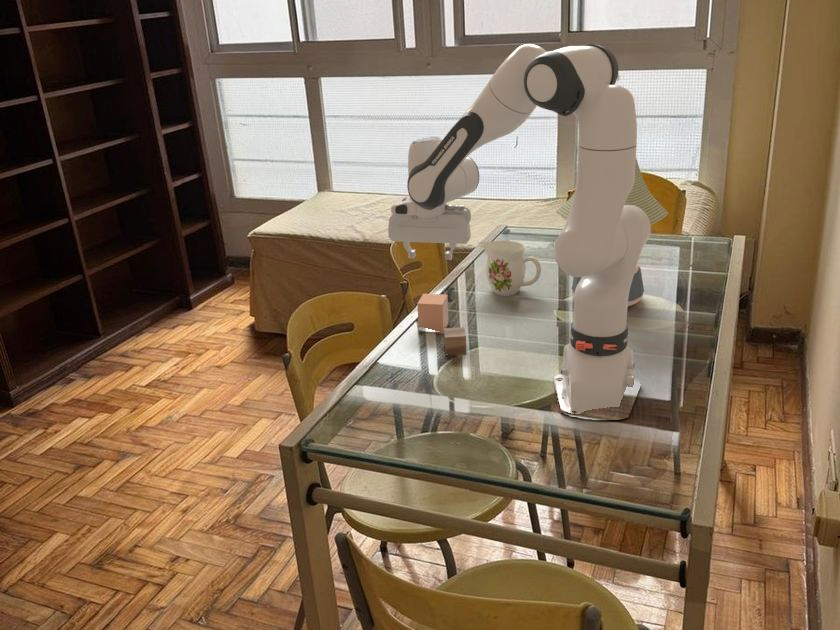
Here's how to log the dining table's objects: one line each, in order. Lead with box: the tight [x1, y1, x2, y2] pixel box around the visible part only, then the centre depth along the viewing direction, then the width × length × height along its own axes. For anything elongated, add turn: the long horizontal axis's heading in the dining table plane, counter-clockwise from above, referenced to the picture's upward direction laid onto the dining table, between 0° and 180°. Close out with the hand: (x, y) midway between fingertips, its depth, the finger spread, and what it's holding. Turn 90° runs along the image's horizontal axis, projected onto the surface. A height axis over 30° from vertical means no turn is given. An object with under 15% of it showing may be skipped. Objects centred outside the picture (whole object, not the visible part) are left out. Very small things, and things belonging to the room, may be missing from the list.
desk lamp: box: [555, 158, 669, 307], centre depth 209 cm, size 26×28×42 cm
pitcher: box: [477, 240, 542, 297], centre depth 224 cm, size 11×18×14 cm, turn 67°
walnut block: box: [443, 326, 467, 356], centre depth 194 cm, size 5×5×5 cm
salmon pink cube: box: [417, 293, 449, 332], centre depth 205 cm, size 6×6×8 cm
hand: (430, 258), depth 199 cm, fingers open, 8 cm apart
